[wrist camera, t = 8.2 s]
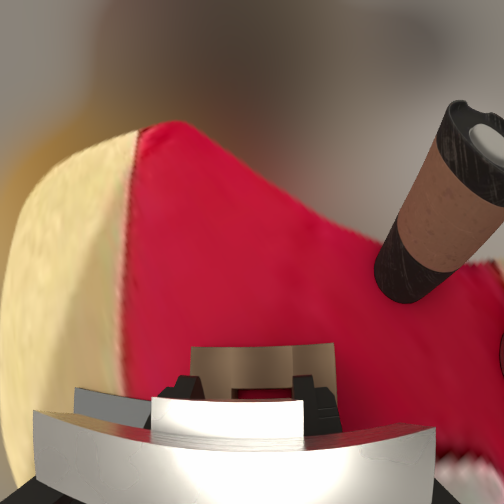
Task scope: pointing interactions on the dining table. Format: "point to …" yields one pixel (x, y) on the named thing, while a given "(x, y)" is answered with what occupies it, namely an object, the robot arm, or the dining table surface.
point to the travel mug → (446, 206)
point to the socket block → (261, 368)
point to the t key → (231, 457)
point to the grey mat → (112, 408)
